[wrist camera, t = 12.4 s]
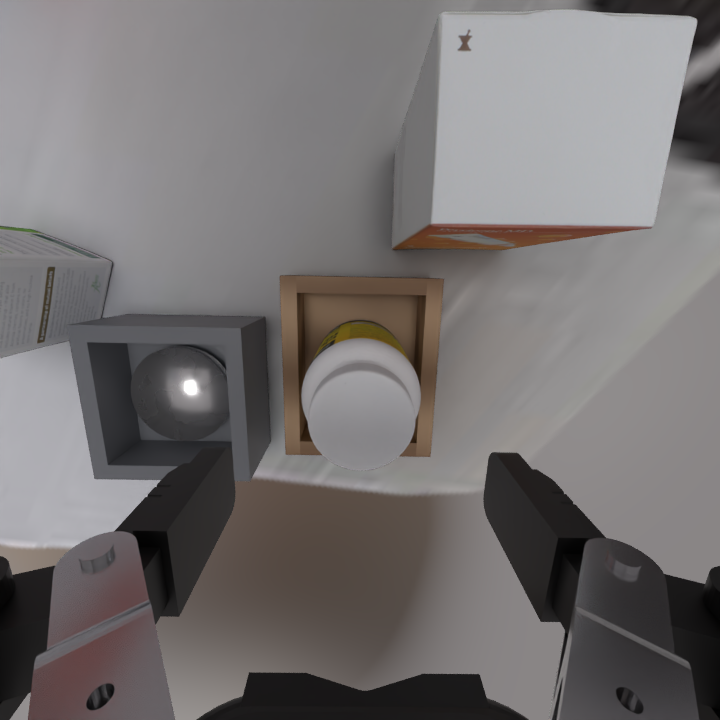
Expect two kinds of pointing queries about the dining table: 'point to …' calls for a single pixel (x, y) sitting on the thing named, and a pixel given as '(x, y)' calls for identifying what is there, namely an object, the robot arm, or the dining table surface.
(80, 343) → the cradle
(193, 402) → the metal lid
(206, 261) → the dining table surface
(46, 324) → the syrup box
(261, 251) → the dining table surface
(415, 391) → the pill bottle
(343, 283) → the wooden tray
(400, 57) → the dining table surface
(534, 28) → the small box
